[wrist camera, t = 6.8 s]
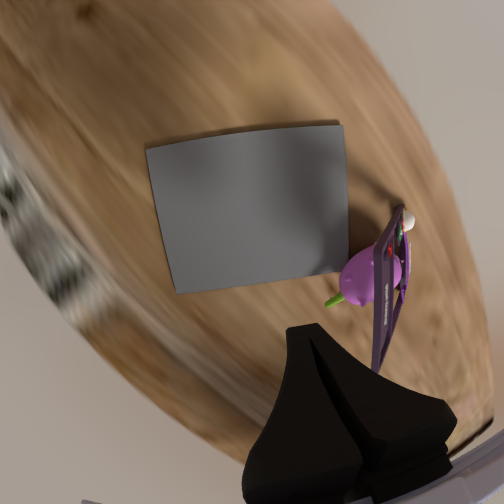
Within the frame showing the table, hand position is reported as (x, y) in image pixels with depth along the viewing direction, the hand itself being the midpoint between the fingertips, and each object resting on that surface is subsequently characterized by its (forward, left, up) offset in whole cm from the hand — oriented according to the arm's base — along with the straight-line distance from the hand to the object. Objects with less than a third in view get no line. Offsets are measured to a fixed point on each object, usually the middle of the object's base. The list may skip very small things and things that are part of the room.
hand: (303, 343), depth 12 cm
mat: (+4, +1, -7) cm, 8 cm away
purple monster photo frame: (-3, -5, -5) cm, 7 cm away
